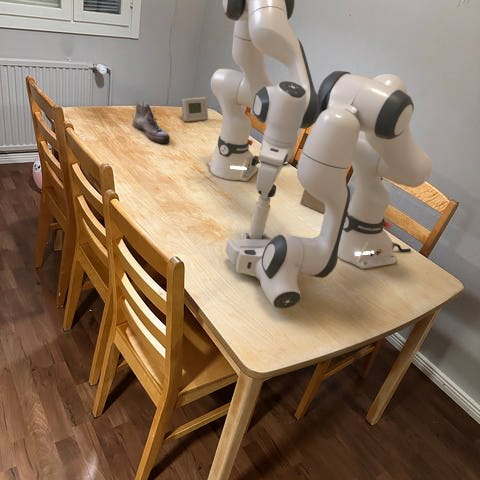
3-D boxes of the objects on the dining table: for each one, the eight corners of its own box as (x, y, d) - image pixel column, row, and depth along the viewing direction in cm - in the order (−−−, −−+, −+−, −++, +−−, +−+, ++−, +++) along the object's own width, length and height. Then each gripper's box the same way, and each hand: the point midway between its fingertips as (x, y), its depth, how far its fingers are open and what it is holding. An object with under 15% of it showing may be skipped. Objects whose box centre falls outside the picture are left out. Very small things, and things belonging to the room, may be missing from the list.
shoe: (173, 145, 192) (176, 117, 186) (149, 145, 187) (151, 117, 180) (153, 123, 209) (155, 98, 203) (130, 123, 204) (132, 97, 197)
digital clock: (183, 122, 219) (186, 101, 213) (175, 116, 224) (177, 95, 219) (211, 122, 228) (214, 101, 222) (202, 115, 233) (205, 95, 228)
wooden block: (323, 213, 164) (339, 164, 154) (299, 203, 168) (314, 154, 157) (332, 205, 172) (349, 158, 161) (310, 195, 176) (324, 148, 165)
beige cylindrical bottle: (258, 248, 136) (272, 195, 127) (258, 256, 133) (272, 202, 123) (244, 245, 136) (257, 193, 126) (244, 253, 132) (257, 200, 123)
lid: (262, 197, 121) (263, 190, 120) (255, 189, 125) (256, 181, 124) (277, 197, 123) (279, 189, 122) (270, 188, 127) (272, 181, 126)
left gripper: (274, 132, 126) (263, 176, 133) (257, 156, 109) (246, 204, 116) (295, 138, 125) (283, 182, 132) (282, 163, 108) (269, 211, 115)
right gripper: (305, 253, 123) (288, 227, 134) (235, 253, 117) (223, 225, 127) (299, 271, 127) (283, 244, 137) (231, 272, 120) (220, 243, 131)
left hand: (266, 192), depth 124 cm, fingers closed on lid, 4 cm apart
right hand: (254, 235), depth 132 cm, fingers closed on beige cylindrical bottle, 4 cm apart
